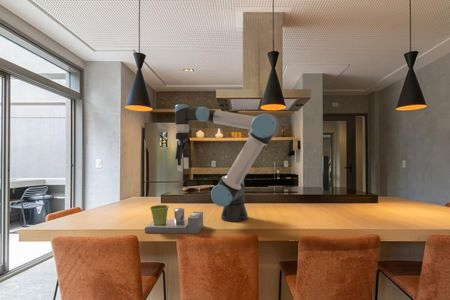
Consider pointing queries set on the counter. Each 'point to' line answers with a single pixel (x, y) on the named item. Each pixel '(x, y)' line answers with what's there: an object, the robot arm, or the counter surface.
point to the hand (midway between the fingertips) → (183, 170)
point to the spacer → (179, 216)
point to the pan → (170, 224)
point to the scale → (193, 227)
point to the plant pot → (159, 214)
